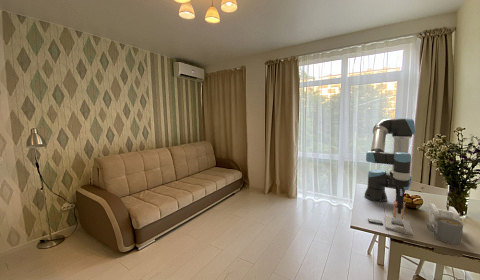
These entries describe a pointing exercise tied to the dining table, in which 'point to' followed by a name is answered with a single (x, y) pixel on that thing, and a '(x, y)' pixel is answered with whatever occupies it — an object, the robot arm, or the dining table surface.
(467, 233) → the dining table surface
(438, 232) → the coffee mug
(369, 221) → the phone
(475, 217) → the dining table surface
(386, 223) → the outlet plate
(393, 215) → the block
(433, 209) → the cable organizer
